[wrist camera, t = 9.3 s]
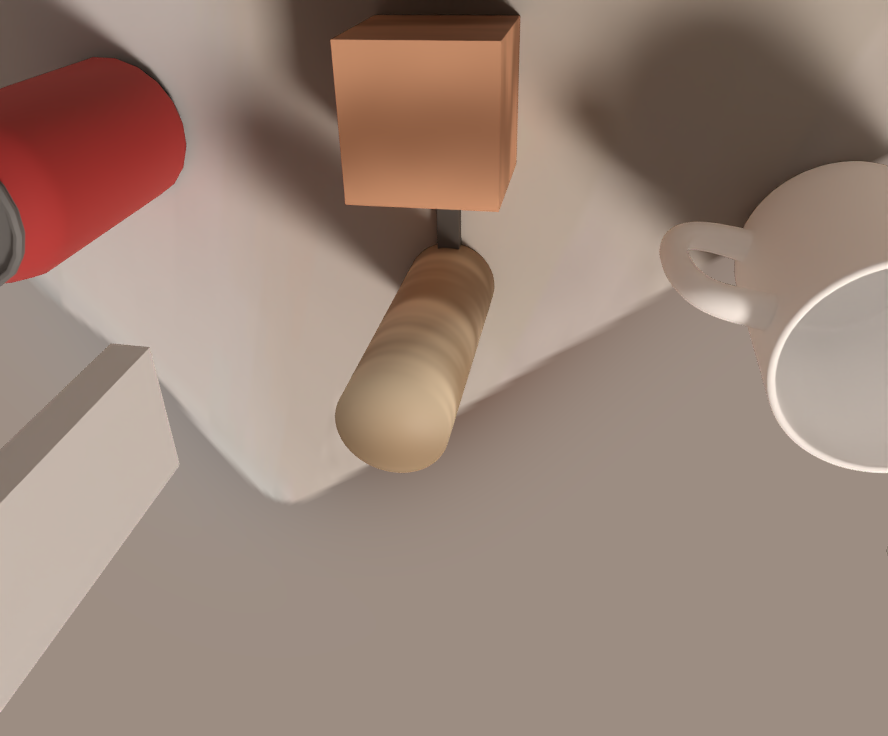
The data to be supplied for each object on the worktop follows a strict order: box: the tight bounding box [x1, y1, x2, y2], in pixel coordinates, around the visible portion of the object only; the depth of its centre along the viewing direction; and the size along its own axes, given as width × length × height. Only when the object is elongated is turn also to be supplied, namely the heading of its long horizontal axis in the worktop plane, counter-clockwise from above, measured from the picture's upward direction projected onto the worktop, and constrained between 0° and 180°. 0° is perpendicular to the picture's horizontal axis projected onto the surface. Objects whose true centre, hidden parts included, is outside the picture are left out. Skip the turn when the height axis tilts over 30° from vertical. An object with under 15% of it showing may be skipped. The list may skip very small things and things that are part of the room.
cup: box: [660, 161, 888, 473], centre depth 30 cm, size 8×12×10 cm
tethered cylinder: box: [330, 15, 520, 473], centre depth 31 cm, size 14×6×12 cm, turn 1°
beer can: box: [0, 57, 186, 286], centre depth 32 cm, size 7×7×12 cm
